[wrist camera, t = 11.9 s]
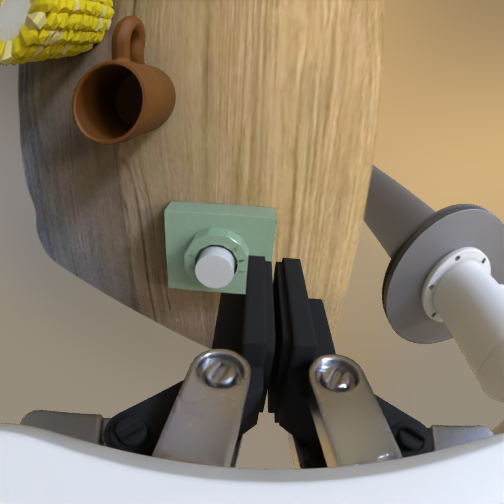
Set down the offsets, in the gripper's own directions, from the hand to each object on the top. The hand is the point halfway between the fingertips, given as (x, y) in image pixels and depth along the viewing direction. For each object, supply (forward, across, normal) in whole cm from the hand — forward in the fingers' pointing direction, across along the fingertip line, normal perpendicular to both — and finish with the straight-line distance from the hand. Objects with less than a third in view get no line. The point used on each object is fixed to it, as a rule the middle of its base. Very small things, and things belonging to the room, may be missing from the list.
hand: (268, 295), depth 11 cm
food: (+25, +22, -16) cm, 37 cm away
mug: (+25, +13, -8) cm, 30 cm away
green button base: (+25, +4, +11) cm, 28 cm away
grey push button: (+20, +4, +11) cm, 24 cm away
